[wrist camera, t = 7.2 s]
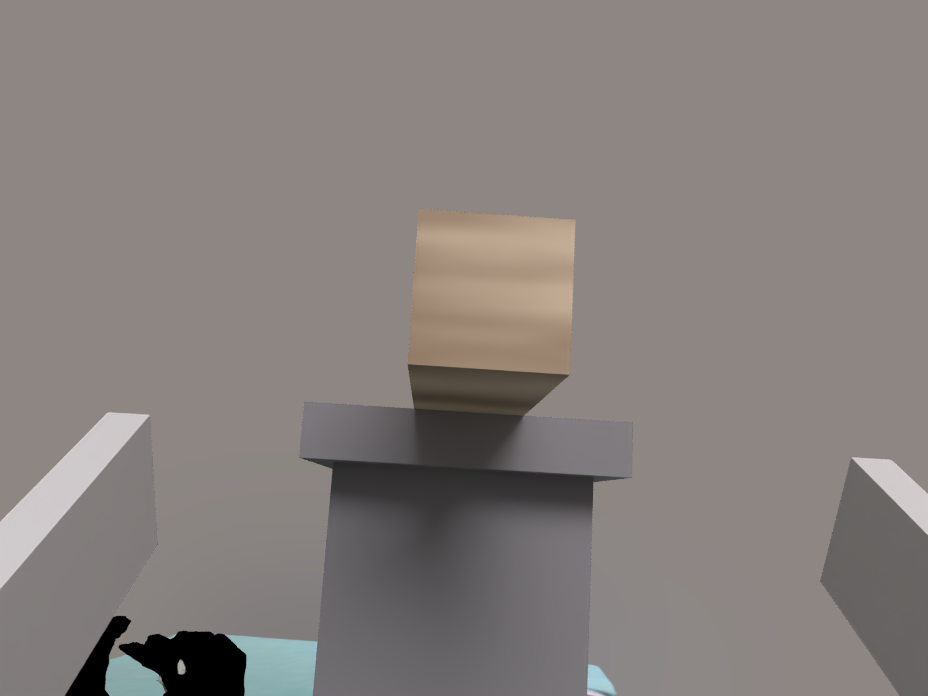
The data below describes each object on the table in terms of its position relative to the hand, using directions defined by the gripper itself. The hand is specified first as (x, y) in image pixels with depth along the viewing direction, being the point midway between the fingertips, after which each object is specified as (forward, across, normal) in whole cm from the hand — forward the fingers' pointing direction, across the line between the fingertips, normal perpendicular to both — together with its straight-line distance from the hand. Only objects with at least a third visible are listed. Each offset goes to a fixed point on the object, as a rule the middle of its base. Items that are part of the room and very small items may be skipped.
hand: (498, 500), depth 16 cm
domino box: (+16, 0, +6) cm, 17 cm away
